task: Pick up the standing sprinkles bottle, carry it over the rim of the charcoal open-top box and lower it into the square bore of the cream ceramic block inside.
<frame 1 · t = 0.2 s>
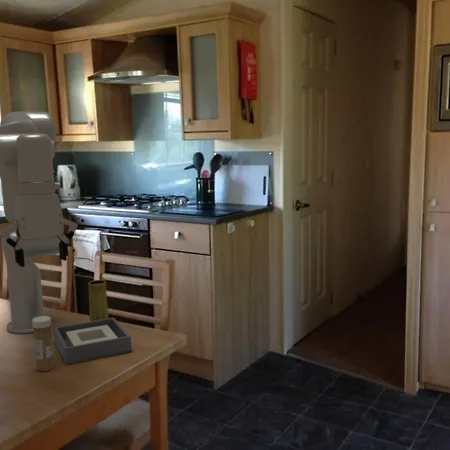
hand: (42, 262, 126), 30 cm above the table, fingers open, 9 cm apart
vase: (99, 326, 170), on the table
sprinkles bottle: (45, 368, 140), on the table
open box: (92, 347, 153), on the table
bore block: (91, 340, 153), in the open box, point 2 cm above the table
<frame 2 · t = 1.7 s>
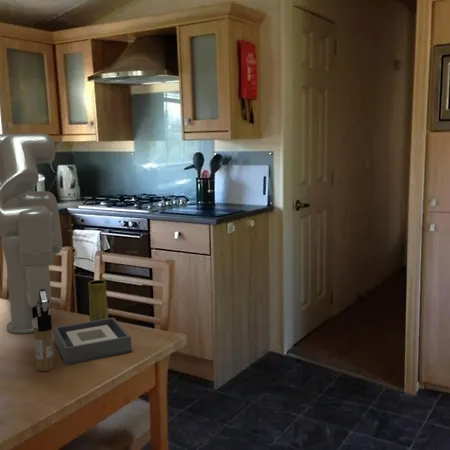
hand: (42, 325, 137), 12 cm above the table, fingers open, 9 cm apart
nothing on the table moved.
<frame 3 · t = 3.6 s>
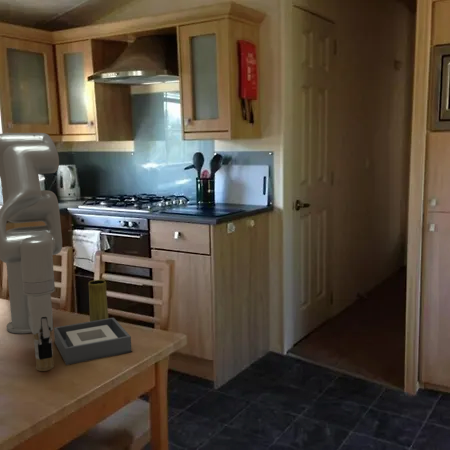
hand: (44, 353, 139), 4 cm above the table, fingers closed on sprinkles bottle, 4 cm apart
sprinkles bottle: (45, 368, 140), on the table, touching gripper
everything else where it was.
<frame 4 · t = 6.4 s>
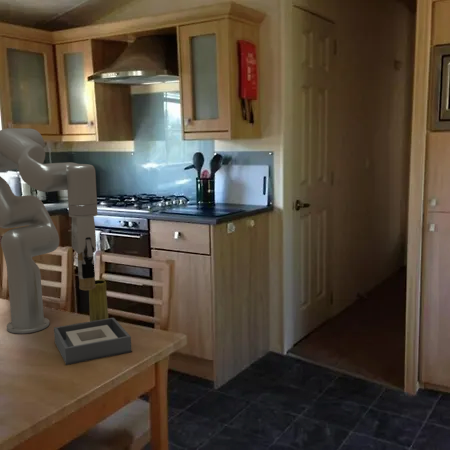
hand: (86, 275, 149), 21 cm above the table, fingers closed on sprinkles bottle, 4 cm apart
sprinkles bottle: (87, 289, 150), point 17 cm above the table, touching gripper
everything else where it was.
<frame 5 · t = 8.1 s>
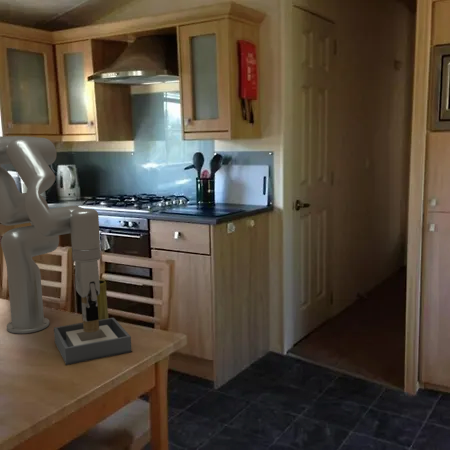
hand: (90, 316, 152), 9 cm above the table, fingers closed on sprinkles bottle, 4 cm apart
sprinkles bottle: (91, 330, 152), point 5 cm above the table, touching gripper
everything else where it was.
when the fingers open (6 cm above the table, at t = 9.5 s): sprinkles bottle moves 1 cm, resting on open box.
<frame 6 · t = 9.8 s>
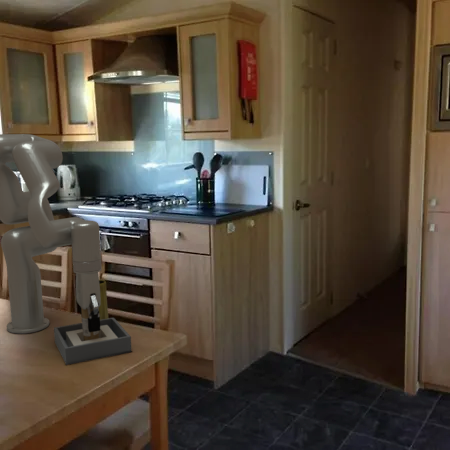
hand: (90, 326, 152), 6 cm above the table, fingers open, 7 cm apart
sprinkles bottle: (91, 345, 153), resting on open box
everything else where it was.
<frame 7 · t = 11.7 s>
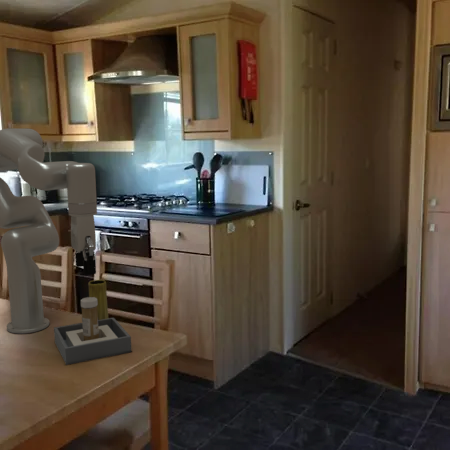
hand: (85, 270, 150), 22 cm above the table, fingers open, 9 cm apart
nothing on the table moved.
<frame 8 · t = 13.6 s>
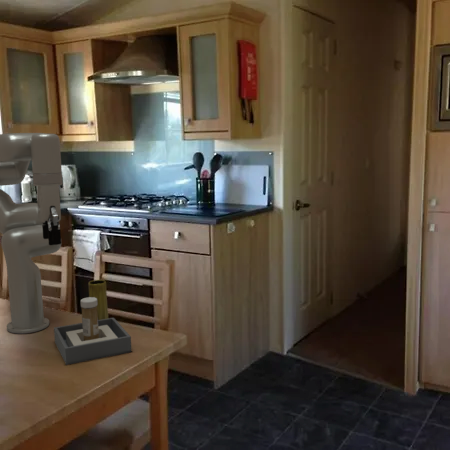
hand: (52, 241, 150), 30 cm above the table, fingers open, 9 cm apart
nothing on the table moved.
at the end: sprinkles bottle 0.3 cm off-centre on the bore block, point 0.4 cm above the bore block's base; sprinkles bottle tilted 0°; the gripper is holding nothing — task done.
